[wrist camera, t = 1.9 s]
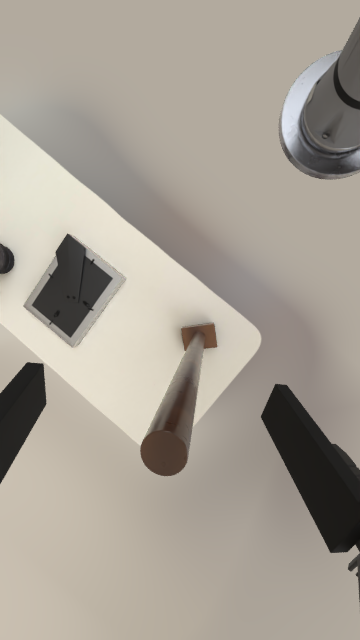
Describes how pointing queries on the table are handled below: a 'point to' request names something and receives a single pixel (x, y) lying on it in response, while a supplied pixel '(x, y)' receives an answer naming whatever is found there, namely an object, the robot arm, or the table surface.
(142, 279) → the table surface
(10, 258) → the camera lens
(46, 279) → the picture frame
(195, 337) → the brown piece
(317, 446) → the robot arm
